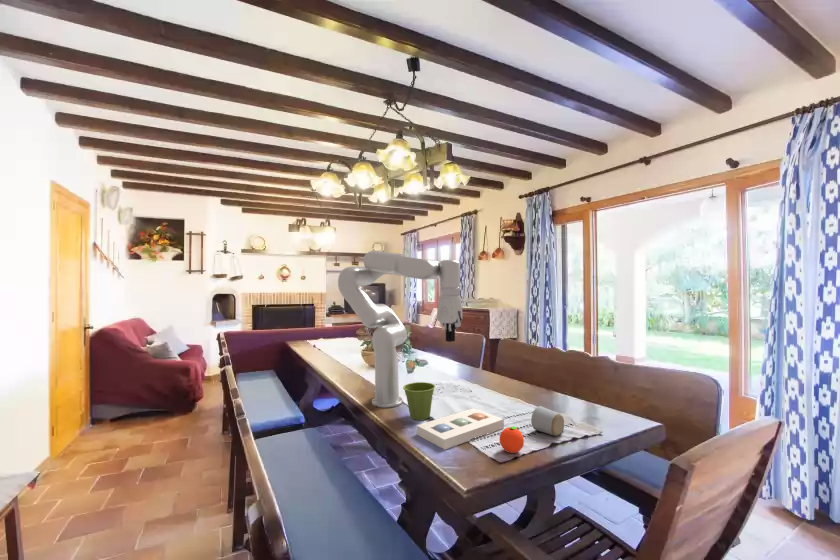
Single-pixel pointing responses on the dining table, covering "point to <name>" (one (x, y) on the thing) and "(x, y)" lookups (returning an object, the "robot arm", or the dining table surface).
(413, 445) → the dining table surface
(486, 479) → the dining table surface
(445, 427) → the blue button
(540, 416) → the grey canister
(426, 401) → the plant pot
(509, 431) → the clementine
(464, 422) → the green button
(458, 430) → the console
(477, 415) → the terracotta button
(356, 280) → the robot arm
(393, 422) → the dining table surface
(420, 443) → the dining table surface
